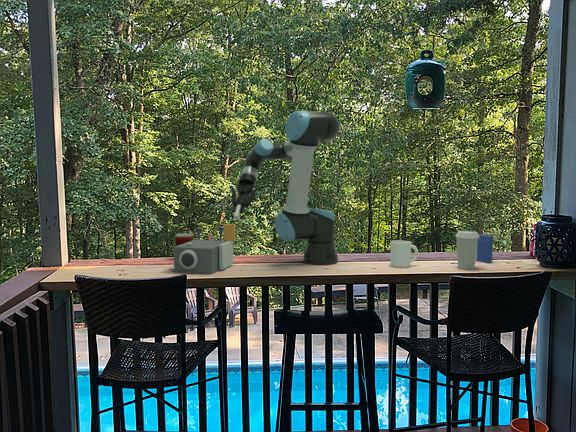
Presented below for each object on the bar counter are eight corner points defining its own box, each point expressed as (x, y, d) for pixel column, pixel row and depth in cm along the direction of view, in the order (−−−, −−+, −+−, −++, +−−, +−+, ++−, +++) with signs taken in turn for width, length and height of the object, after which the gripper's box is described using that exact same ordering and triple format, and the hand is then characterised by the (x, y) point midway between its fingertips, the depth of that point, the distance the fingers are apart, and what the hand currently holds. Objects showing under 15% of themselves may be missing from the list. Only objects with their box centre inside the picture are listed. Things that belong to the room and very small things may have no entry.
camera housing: (229, 264, 237) (229, 239, 236) (210, 275, 216) (210, 247, 215) (194, 262, 241) (193, 238, 240) (172, 272, 220) (171, 245, 219)
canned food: (197, 258, 251) (196, 234, 250) (182, 261, 245) (182, 236, 244) (186, 256, 256) (186, 232, 255) (172, 259, 250) (171, 234, 249)
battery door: (235, 264, 236) (235, 224, 235) (225, 269, 224) (224, 227, 222) (226, 263, 237) (225, 223, 236) (214, 269, 225) (214, 227, 223)
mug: (414, 263, 242) (415, 240, 241) (421, 267, 233) (422, 243, 232) (387, 264, 240) (388, 240, 239) (394, 268, 232) (394, 243, 231)
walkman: (492, 262, 245) (493, 235, 244) (488, 263, 244) (489, 235, 242) (476, 260, 251) (477, 233, 250) (472, 260, 250) (473, 233, 248)
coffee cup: (449, 266, 235) (450, 231, 234) (467, 265, 239) (468, 230, 237) (464, 270, 226) (466, 234, 225) (483, 269, 230) (484, 233, 229)
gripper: (263, 184, 261) (252, 223, 247) (237, 183, 264) (224, 222, 250) (260, 173, 255) (248, 213, 241) (233, 172, 258) (220, 212, 244)
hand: (236, 218), depth 245 cm, fingers closed
